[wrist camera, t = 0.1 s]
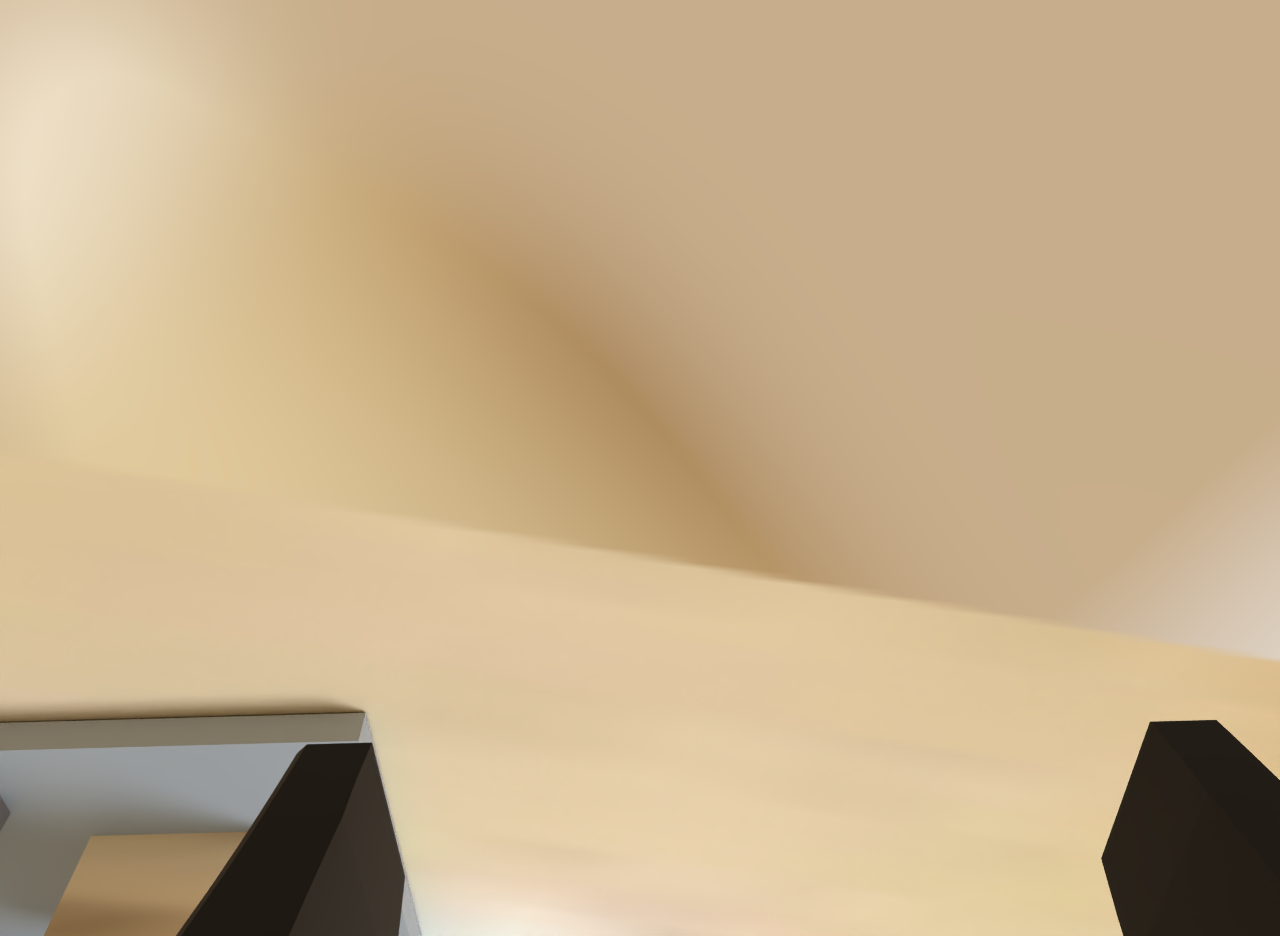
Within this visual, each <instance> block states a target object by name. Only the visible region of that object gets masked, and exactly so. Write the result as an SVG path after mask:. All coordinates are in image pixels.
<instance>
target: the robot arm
mask: <svg viewBox="0 0 1280 936" xmlns="http://www.w3.org/2000/svg"><path fill="white" fill-rule="evenodd" d="M1101 859H1102V863H1103V866H1104V870H1105V873H1106V877H1107V881H1108V884H1109V888H1110V891H1111V895H1112V898H1113V902H1114V905H1115V909H1116V913H1117V916H1118V920H1119V923H1120V926H1121V929H1122V932H1123V936H1280V780H1279V779H1278V778H1277V777H1276V776H1275V775H1274V774H1273V773H1272V772H1271V771H1270V770H1269V769H1268V768H1267V767H1265V766H1264V765H1263V764H1262V763H1261V762H1260V761H1259V760H1258V759H1257V758H1256V757H1255V756H1254V755H1253V754H1252V753H1251V752H1250V751H1249V750H1248V749H1247V748H1246V747H1245V746H1244V745H1242V744H1241V743H1240V742H1239V741H1238V740H1237V739H1236V738H1235V737H1234V736H1233V735H1232V734H1231V733H1230V732H1229V731H1228V730H1227V729H1225V728H1224V727H1223V726H1222V725H1221V724H1220V723H1219V722H1218V721H1217V720H1198V721H1160V722H1150V723H1149V726H1148V729H1147V732H1146V735H1145V737H1144V740H1143V743H1142V746H1141V749H1140V751H1139V754H1138V757H1137V760H1136V763H1135V765H1134V768H1133V771H1132V774H1131V777H1130V779H1129V782H1128V785H1127V788H1126V791H1125V793H1124V796H1123V799H1122V802H1121V805H1120V807H1119V810H1118V813H1117V816H1116V819H1115V822H1114V824H1113V827H1112V830H1111V833H1110V836H1109V838H1108V841H1107V844H1106V847H1105V850H1104V852H1103V855H1102V858H1101ZM404 883H405V874H404V870H403V866H402V861H401V857H400V853H399V849H398V845H397V841H396V837H395V833H394V829H393V825H392V821H391V817H390V813H389V809H388V805H387V801H386V797H385V792H384V788H383V784H382V780H381V776H380V772H379V768H378V764H377V760H376V756H375V752H374V748H373V744H372V742H370V743H333V744H307V745H306V746H304V747H303V748H302V749H301V750H300V751H299V752H298V753H297V754H296V756H295V757H294V759H293V761H292V762H291V764H290V765H289V767H288V769H287V770H286V772H285V773H284V775H283V777H282V778H281V780H280V781H279V783H278V785H277V786H276V788H275V789H274V791H273V793H272V794H271V796H270V797H269V799H268V800H267V802H266V804H265V805H264V807H263V808H262V810H261V811H260V813H259V815H258V816H257V818H256V819H255V821H254V822H253V824H252V825H251V827H250V828H249V830H248V832H247V833H246V835H245V836H244V838H243V839H242V841H241V842H240V844H239V845H238V847H237V848H236V850H235V851H234V853H233V854H232V856H231V857H230V859H229V860H228V862H227V863H226V865H225V866H224V868H223V869H222V871H221V872H220V874H219V875H218V877H217V878H216V880H215V881H214V882H213V884H212V885H211V887H210V888H209V890H208V891H207V893H206V894H205V895H204V897H203V898H202V900H201V901H200V902H199V904H198V905H197V907H196V908H195V910H194V911H193V912H192V914H191V915H190V917H189V918H188V919H187V921H186V922H185V924H184V925H183V926H182V928H181V929H180V931H179V932H178V934H177V935H176V936H399V928H400V919H401V910H402V901H403V892H404Z"/></svg>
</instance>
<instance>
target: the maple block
mask: <svg viewBox="0 0 1280 936" xmlns="http://www.w3.org/2000/svg"><path fill="white" fill-rule="evenodd" d="M246 833H247V832H219V833H183V834H146V835H109V836H91V837H90V839H89V841H88V844H87V846H86V848H85V850H84V852H83V854H82V856H81V858H80V860H79V862H78V865H77V867H76V869H75V871H74V873H73V875H72V877H71V879H70V881H69V883H68V886H67V888H66V890H65V892H64V894H63V896H62V898H61V900H60V902H59V904H58V907H57V909H56V911H55V913H54V915H53V917H52V919H51V921H50V923H49V926H48V928H47V930H46V932H45V934H44V936H176V935H177V934H178V932H179V931H180V929H181V928H182V926H183V925H184V924H185V922H186V921H187V919H188V918H189V917H190V915H191V914H192V912H193V911H194V910H195V908H196V907H197V905H198V904H199V902H200V901H201V900H202V898H203V897H204V895H205V894H206V893H207V891H208V890H209V888H210V887H211V885H212V884H213V882H214V881H215V880H216V878H217V877H218V875H219V874H220V872H221V871H222V869H223V868H224V866H225V865H226V863H227V862H228V860H229V859H230V857H231V856H232V854H233V853H234V851H235V850H236V848H237V847H238V845H239V844H240V842H241V841H242V839H243V838H244V836H245V835H246Z"/></svg>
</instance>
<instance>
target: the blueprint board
mask: <svg viewBox="0 0 1280 936" xmlns="http://www.w3.org/2000/svg"><path fill="white" fill-rule="evenodd" d="M370 742H372V744H373V740H372V736H371V732H370V728H369V724H368V720H367V716H366V713H339V714H303V715H267V716H231V717H195V718H158V719H122V720H86V721H50V722H14V723H0V936H44V934H45V932H46V930H47V928H48V926H49V923H50V921H51V919H52V917H53V915H54V913H55V911H56V909H57V907H58V904H59V902H60V900H61V898H62V896H63V894H64V892H65V890H66V888H67V886H68V883H69V881H70V879H71V877H72V875H73V873H74V871H75V869H76V867H77V865H78V862H79V860H80V858H81V856H82V854H83V852H84V850H85V848H86V846H87V844H88V841H89V839H90V837H91V836H109V835H146V834H183V833H219V832H248V830H249V828H250V827H251V825H252V824H253V822H254V821H255V819H256V818H257V816H258V815H259V813H260V811H261V810H262V808H263V807H264V805H265V804H266V802H267V800H268V799H269V797H270V796H271V794H272V793H273V791H274V789H275V788H276V786H277V785H278V783H279V781H280V780H281V778H282V777H283V775H284V773H285V772H286V770H287V769H288V767H289V765H290V764H291V762H292V761H293V759H294V757H295V756H296V754H297V753H298V752H299V751H300V750H301V749H302V748H303V747H304V746H306V745H307V744H333V743H370ZM373 748H374V744H373ZM374 752H375V748H374ZM375 756H376V752H375ZM376 760H377V756H376ZM377 764H378V760H377ZM378 768H379V764H378ZM379 772H380V768H379ZM380 776H381V772H380ZM381 780H382V776H381ZM382 784H383V780H382ZM383 788H384V784H383ZM384 792H385V788H384ZM385 797H386V801H387V805H388V809H389V813H390V817H391V821H392V825H393V829H394V833H395V837H396V841H397V845H398V849H399V853H400V857H401V861H402V866H403V870H404V874H405V883H404V892H403V901H402V910H401V919H400V928H399V936H421V933H420V929H419V925H418V921H417V917H416V913H415V909H414V905H413V901H412V897H411V893H410V888H409V884H408V880H407V876H406V872H405V868H404V864H403V860H402V856H401V852H400V848H399V844H398V840H397V836H396V832H395V828H394V824H393V820H392V816H391V812H390V808H389V804H388V800H387V796H386V792H385Z"/></svg>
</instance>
